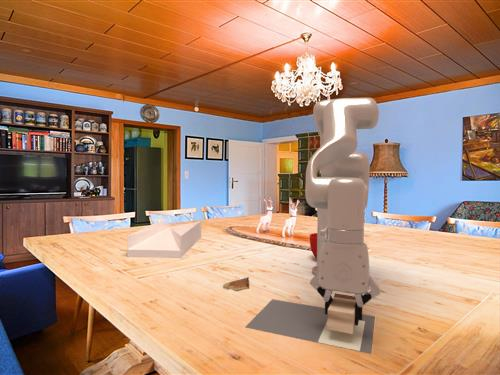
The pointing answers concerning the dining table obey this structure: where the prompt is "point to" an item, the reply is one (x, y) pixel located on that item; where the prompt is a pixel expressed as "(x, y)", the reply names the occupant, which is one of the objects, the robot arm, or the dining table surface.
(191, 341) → the dining table surface
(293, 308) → the mat
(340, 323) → the tan tapered block
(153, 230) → the hipped roof block
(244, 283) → the shard
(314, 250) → the ceramic cup
